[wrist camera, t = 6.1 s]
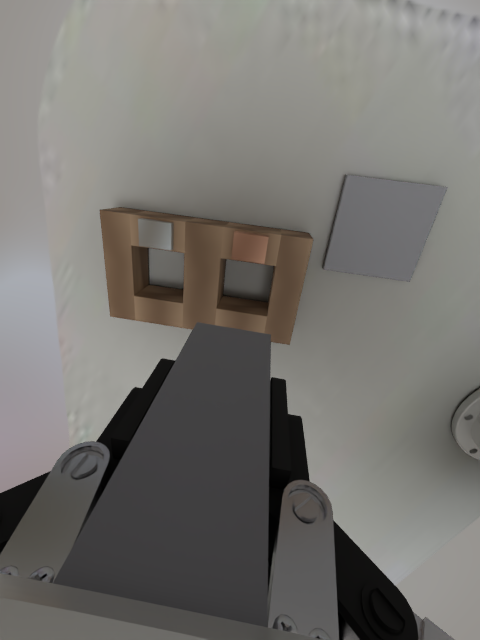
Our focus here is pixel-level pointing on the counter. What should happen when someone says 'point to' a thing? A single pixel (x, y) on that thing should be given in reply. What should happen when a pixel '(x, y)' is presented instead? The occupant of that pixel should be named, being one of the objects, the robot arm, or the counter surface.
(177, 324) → the socket board
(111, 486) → the plug
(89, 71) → the counter surface
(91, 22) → the counter surface
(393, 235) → the mat
